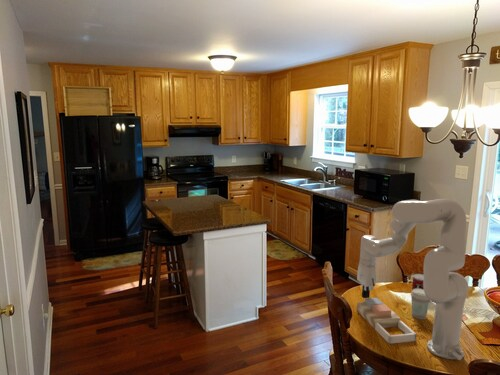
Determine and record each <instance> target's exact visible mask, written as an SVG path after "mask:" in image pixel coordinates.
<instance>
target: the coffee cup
mask: <svg viewBox="0 0 500 375" xmlns="http://www.w3.org/2000/svg"><path fill="white" fill-rule="evenodd" d="M410 296H411V315H412V317H413V318H415V319H418V320H425V319H426V318H427V314H428V310H429V306H430V302H431V301H430V300H429V299H428V298H427V297H426V295H425V292H424V289H413V290H412V289H411V293H410Z"/></svg>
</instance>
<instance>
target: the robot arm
mask: <svg viewBox="0 0 500 375" xmlns="http://www.w3.org/2000/svg"><path fill="white" fill-rule="evenodd" d="M391 215H392V217H393V218H392V219H391V221H390V222H389V227H390V229H391V230H392V234H391V235H390V236H389V237H387V238H382V239H378V237H377V236H375V235H371V234H365V235H362V236H361V238H360V248H359V249H360V251H359V254H360V255H359V262H358V267H357V274H356V280H357V282H359V283H360V284H361V297H362V298H363V299H366V298H370V295H371V294H370V292H371V291H373V290H374V287H375V286H376V282H377V276H376V275H377V270H376V268H377V267H376V266H377V258H382V257H387V256H391V255H394V254H396V253H398V252H399V251H400V250H401V249H402V248H403V247H404V246H405V245H406V243H407V241H408V237H409V233H410V232H411V231H412V230H413V229H414V227H415V226H416V225H417V224H433V223H439V222H442V223H443V224H442V227H441V229H440V232H439V245H438V247H436V248H432V249H430V250H428V252H427V253H426V255H425V256H424V259H423V287H424V292H425V295H426V297H427V298H428V299H429V300H430V302H431V303H433V304H435V305H434V306H435V307H434V314H433V324H432V336H431V339H429V340H428V341H427V343H426V347H427V349H428V351H429V352H430V353H431V354H433V355H435V356H437V357H440V358H442V359H445V360H453V361H454V360H457V361H461V360H462V359H463V358H465V355H466V354H465V353H464V351H463V349H462V345H460V343H461V342H460V341H461V340H460V339H461V333H462V324H463V315H464V307H465V303H466V300H467V296H468V293H469V283H468V281H467V279H466V277H464V275H462V274H461V273H458V272H455V271H458V270H461V269H462V268H463V267H464V266H465V262H466V231H467V215H466V211H465V210H464V207H462V205H461V204H460V203H458V202H457V201H455V200H453V199H451V198H435V199H432V200H423V201H422V200H418V199H406V200H401V201H400V200H399V201H398V202H396V203H394V205H393V206H392V209H391Z"/></svg>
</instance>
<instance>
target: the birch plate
mask: <svg viewBox="0 0 500 375" xmlns="http://www.w3.org/2000/svg"><path fill="white" fill-rule="evenodd" d="M381 302H382V303H383V304H385V303H384V302H383V301H381ZM356 304H357V305H356V312H357V313H359V315H361V317H362V318H363V319H364V320H365V321H366V322H367V323H368V324H369V325H370V326H371V327H372V328H373V329H374V330H375V323H379V324H380V325H381V326H382V327H383V328H384V329H386V328H387V329H388V328H396V327H398V321H399V320H401V317H400V316H399V315H398V314H397V313H395V312H394V311H393V310H392V309H391V308H389V307H388V308H389V309H390V310H391V316H382V317H378V316H377V315H376V314H375V313H374V312H373V311H372V310H371V309H370V308H369V307H368V306H367V305H366V304H365V301H362V302H357V303H356ZM398 328H399V327H398Z"/></svg>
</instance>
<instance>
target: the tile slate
mask: <svg viewBox="0 0 500 375" xmlns="http://www.w3.org/2000/svg"><path fill="white" fill-rule="evenodd" d="M364 302H365V304H366V305H367V306H368V307H369V308H370V309H371V310H372V305H379V304H383V303H384V302H383V301H382V300H380V299H379V298H378V297H369V298H364ZM382 302H383V303H382Z"/></svg>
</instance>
